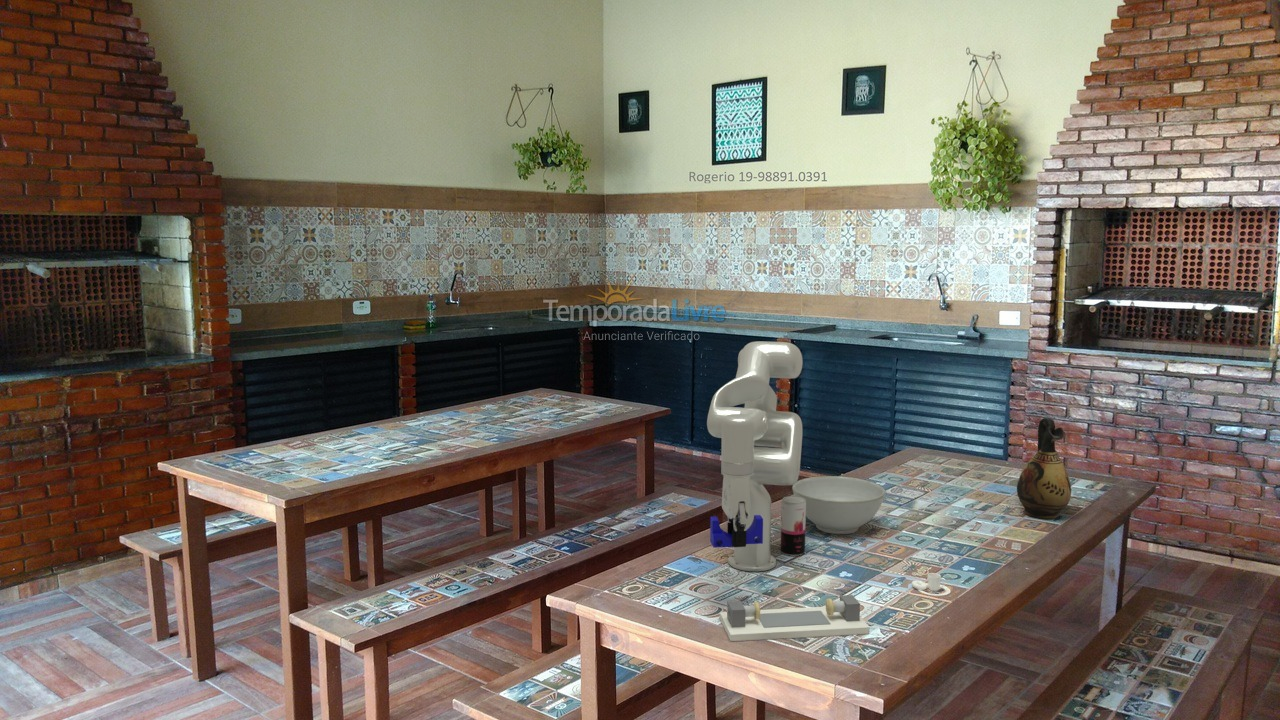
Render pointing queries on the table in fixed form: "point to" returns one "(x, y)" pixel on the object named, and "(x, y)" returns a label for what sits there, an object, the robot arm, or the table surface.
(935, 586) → the teacup and saucer
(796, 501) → the beverage can
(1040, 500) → the ceramic jug
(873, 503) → the decorative bowl
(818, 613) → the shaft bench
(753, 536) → the blue cradle bracket
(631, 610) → the table surface
